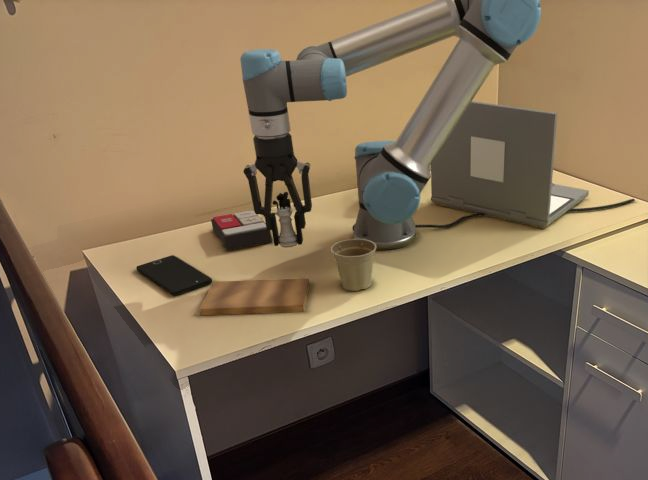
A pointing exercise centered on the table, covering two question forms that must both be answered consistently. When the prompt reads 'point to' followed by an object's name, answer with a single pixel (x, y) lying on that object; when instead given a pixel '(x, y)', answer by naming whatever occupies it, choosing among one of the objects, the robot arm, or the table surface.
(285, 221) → the rook chess piece
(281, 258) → the table surface
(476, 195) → the laptop
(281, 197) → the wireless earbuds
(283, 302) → the board
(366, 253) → the flower pot
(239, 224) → the calculator
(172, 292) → the cell phone
